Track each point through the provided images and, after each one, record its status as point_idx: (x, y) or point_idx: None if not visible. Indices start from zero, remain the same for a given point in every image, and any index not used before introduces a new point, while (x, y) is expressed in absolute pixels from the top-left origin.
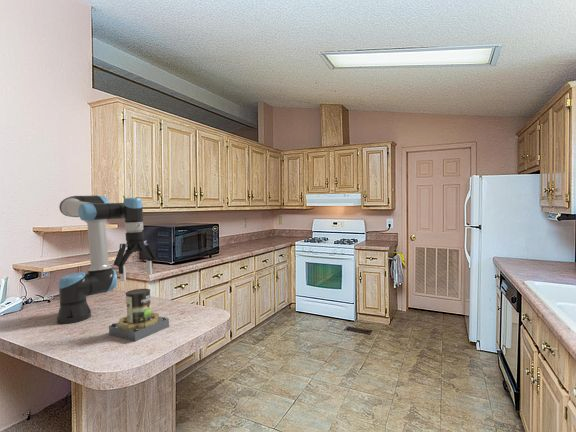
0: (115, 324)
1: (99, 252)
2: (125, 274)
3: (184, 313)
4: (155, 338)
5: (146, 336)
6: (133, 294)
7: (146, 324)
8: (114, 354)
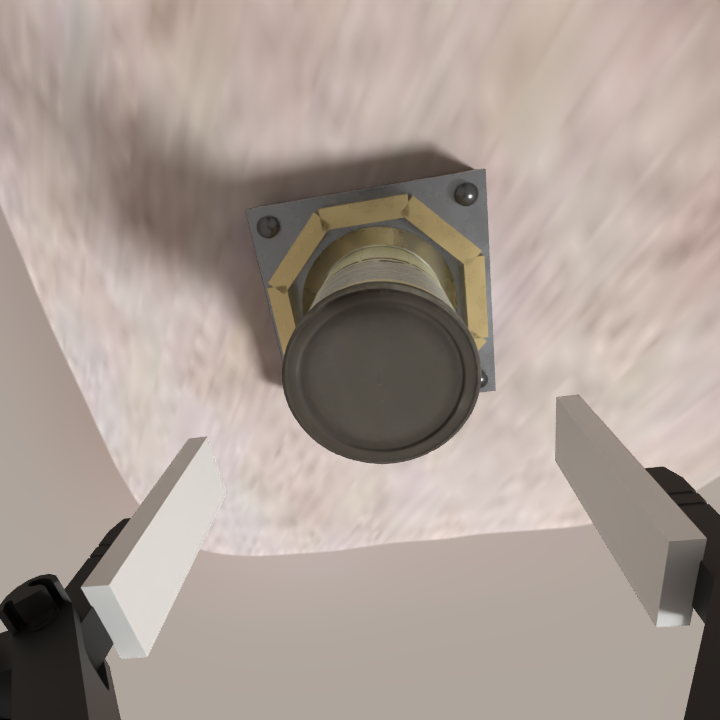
0: (273, 236)
1: None
2: (197, 548)
3: (684, 264)
4: None
5: None
6: (309, 434)
7: None
8: (203, 435)
